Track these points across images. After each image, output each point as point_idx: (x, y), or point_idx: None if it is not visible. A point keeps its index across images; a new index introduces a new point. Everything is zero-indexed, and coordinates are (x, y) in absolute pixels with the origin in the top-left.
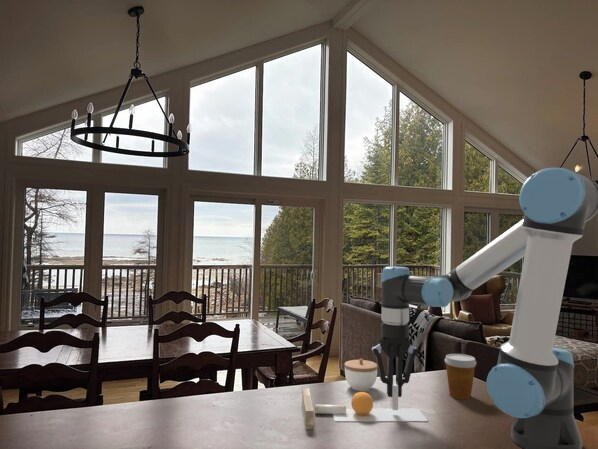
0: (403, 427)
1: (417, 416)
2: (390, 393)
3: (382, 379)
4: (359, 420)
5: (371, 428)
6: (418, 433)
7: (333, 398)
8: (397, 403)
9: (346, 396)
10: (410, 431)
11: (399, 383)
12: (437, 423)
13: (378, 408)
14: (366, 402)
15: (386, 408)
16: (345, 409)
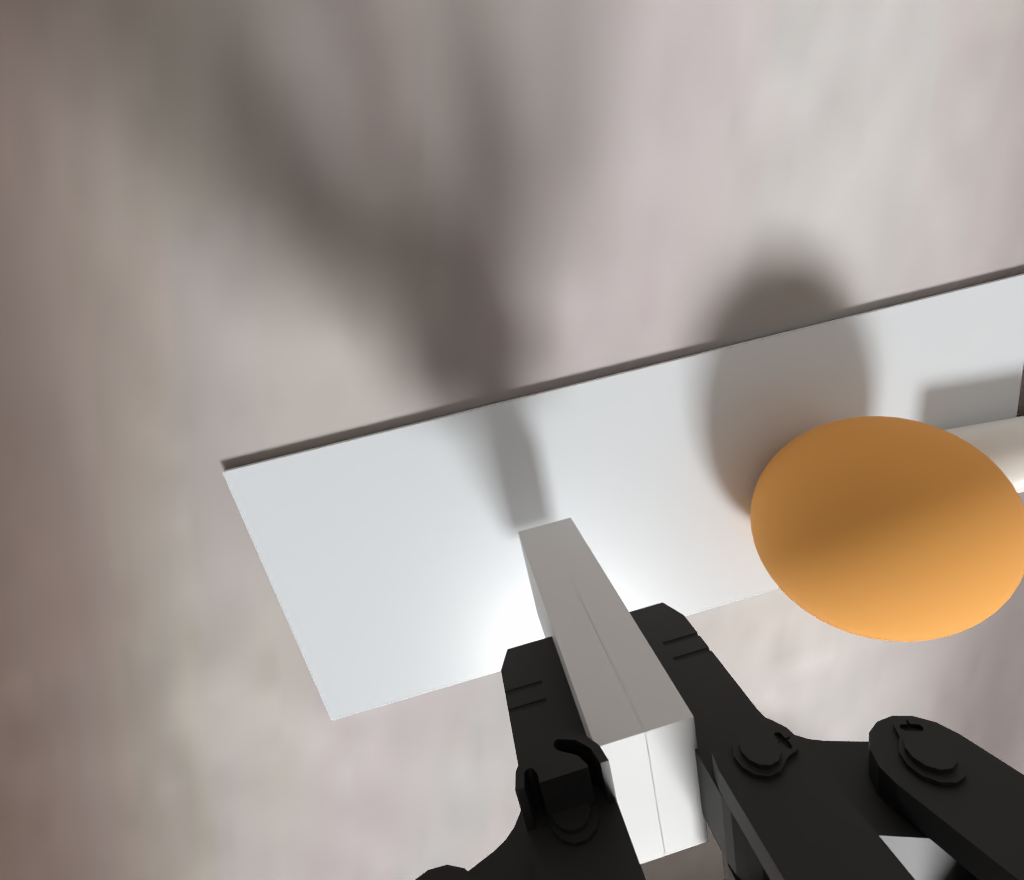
0: (464, 271)
1: (330, 551)
2: (662, 637)
3: (1009, 778)
4: (843, 328)
5: (760, 181)
6: (309, 133)
7: (936, 709)
8: (538, 566)
9: None
10: (395, 176)
11: (589, 808)
12: (123, 453)
13: None
14: (892, 455)
15: None
16: (972, 441)
